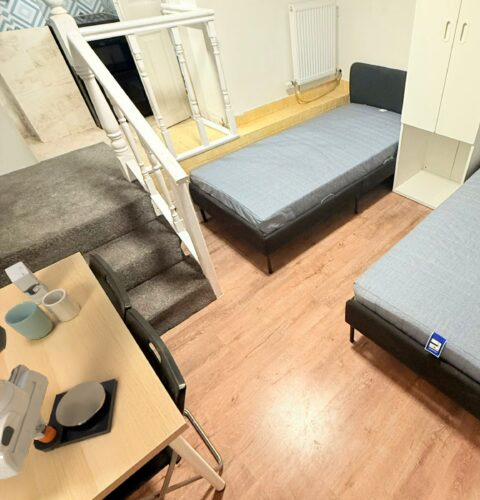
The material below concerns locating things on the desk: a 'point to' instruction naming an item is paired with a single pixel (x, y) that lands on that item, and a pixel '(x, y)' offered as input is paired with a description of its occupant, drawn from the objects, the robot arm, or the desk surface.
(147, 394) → the desk surface
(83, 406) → the scale pan
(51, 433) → the tare button
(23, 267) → the ink box
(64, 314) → the white cup
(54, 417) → the scale
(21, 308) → the cup
